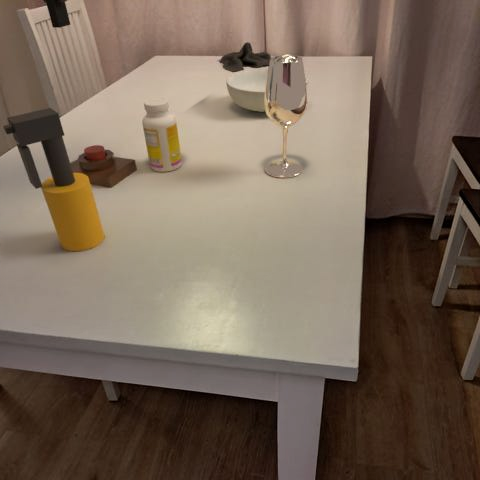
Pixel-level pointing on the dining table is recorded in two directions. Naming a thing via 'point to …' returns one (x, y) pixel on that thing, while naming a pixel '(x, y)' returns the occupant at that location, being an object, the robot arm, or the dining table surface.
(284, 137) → the wineglass
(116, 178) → the button block
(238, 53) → the cloth
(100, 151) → the button
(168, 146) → the supplement bottle
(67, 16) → the robot arm
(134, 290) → the dining table surface
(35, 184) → the trigger
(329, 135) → the dining table surface
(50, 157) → the spray bottle
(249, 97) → the serving bowl
